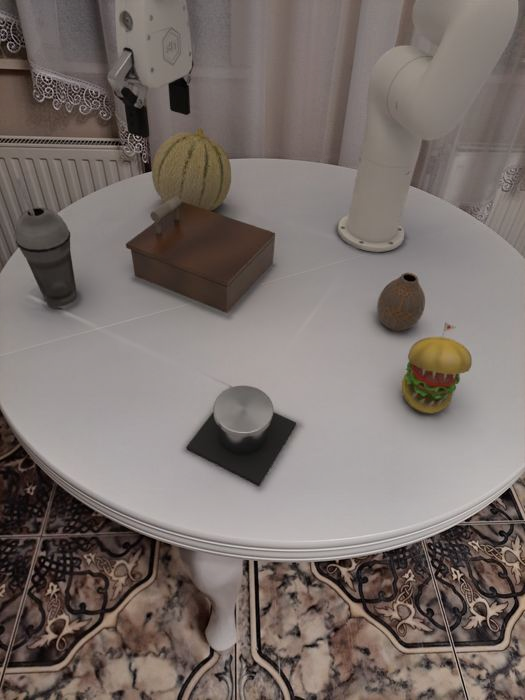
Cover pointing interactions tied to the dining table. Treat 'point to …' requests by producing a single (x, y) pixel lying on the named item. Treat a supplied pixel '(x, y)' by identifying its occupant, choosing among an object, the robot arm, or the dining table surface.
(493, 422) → the dining table surface
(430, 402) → the hamburger
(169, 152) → the cantaloupe
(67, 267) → the beverage cup
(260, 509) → the dining table surface
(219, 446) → the mat
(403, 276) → the vase
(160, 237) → the lid
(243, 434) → the bowl
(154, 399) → the dining table surface
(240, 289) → the chest
